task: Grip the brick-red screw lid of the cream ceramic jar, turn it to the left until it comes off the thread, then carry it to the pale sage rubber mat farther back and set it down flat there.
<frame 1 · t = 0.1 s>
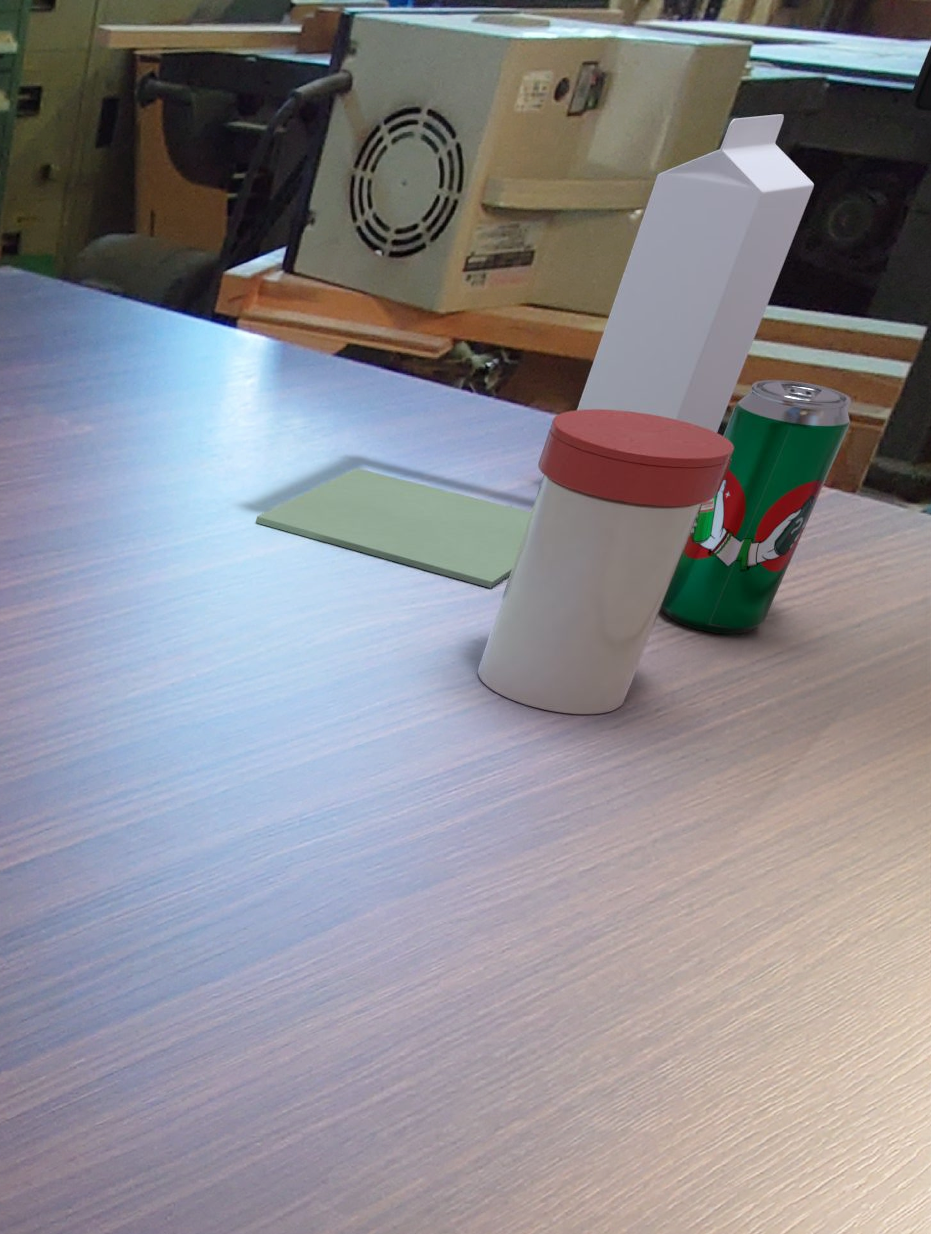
soda can: (705, 622, 90), on the table
jar: (549, 685, 82), on the table
milk: (614, 508, 106), on the table
mat: (417, 526, 101), on the table
lid: (638, 441, 76), point 12 cm above the table, screwed on, not yet turned
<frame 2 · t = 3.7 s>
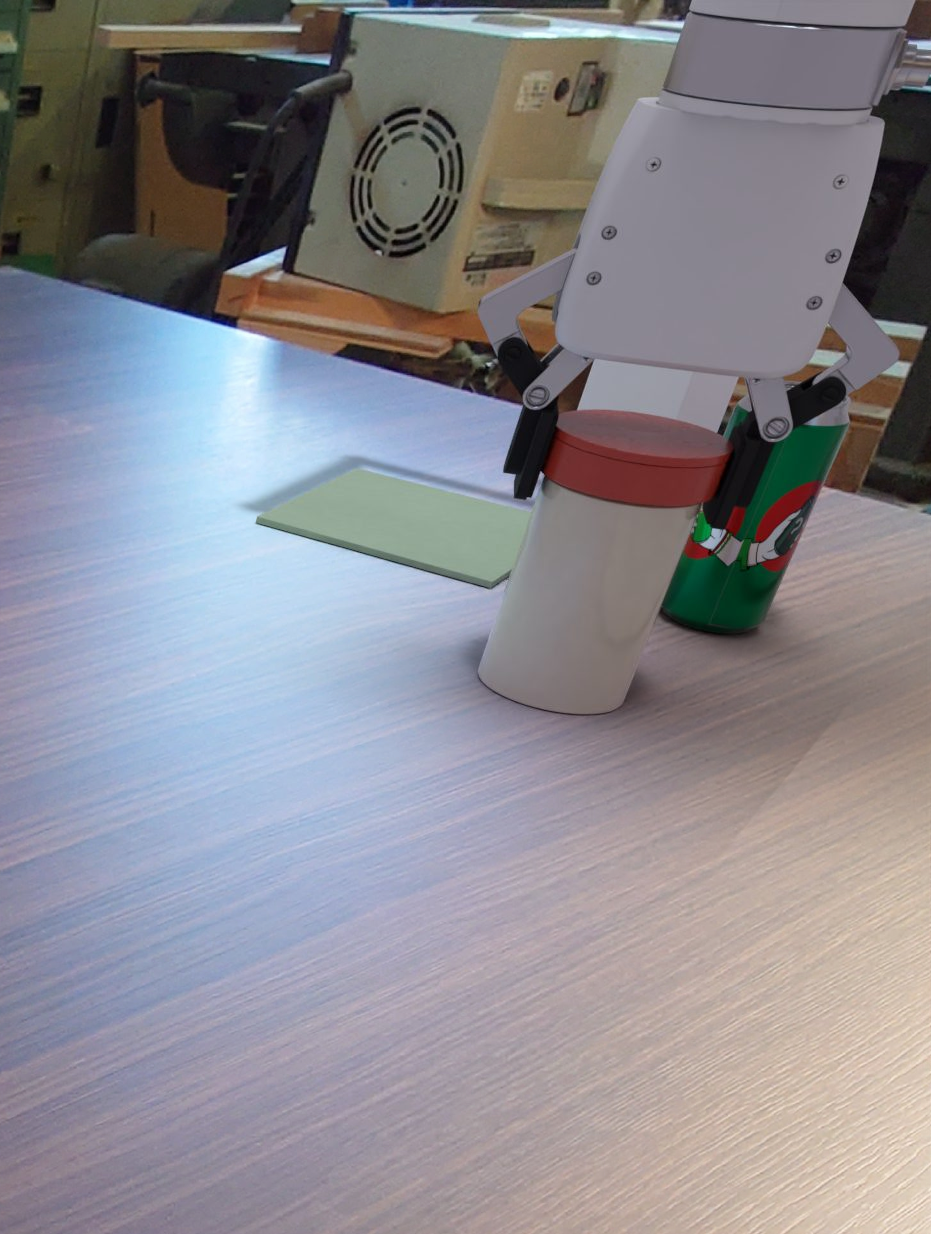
hand: (616, 503, 77), 9 cm above the table, tool pointing down, fingers closed on lid, 7 cm apart
lid: (638, 442, 76), point 12 cm above the table, screwed on, not yet turned, touching gripper
everything else where it was.
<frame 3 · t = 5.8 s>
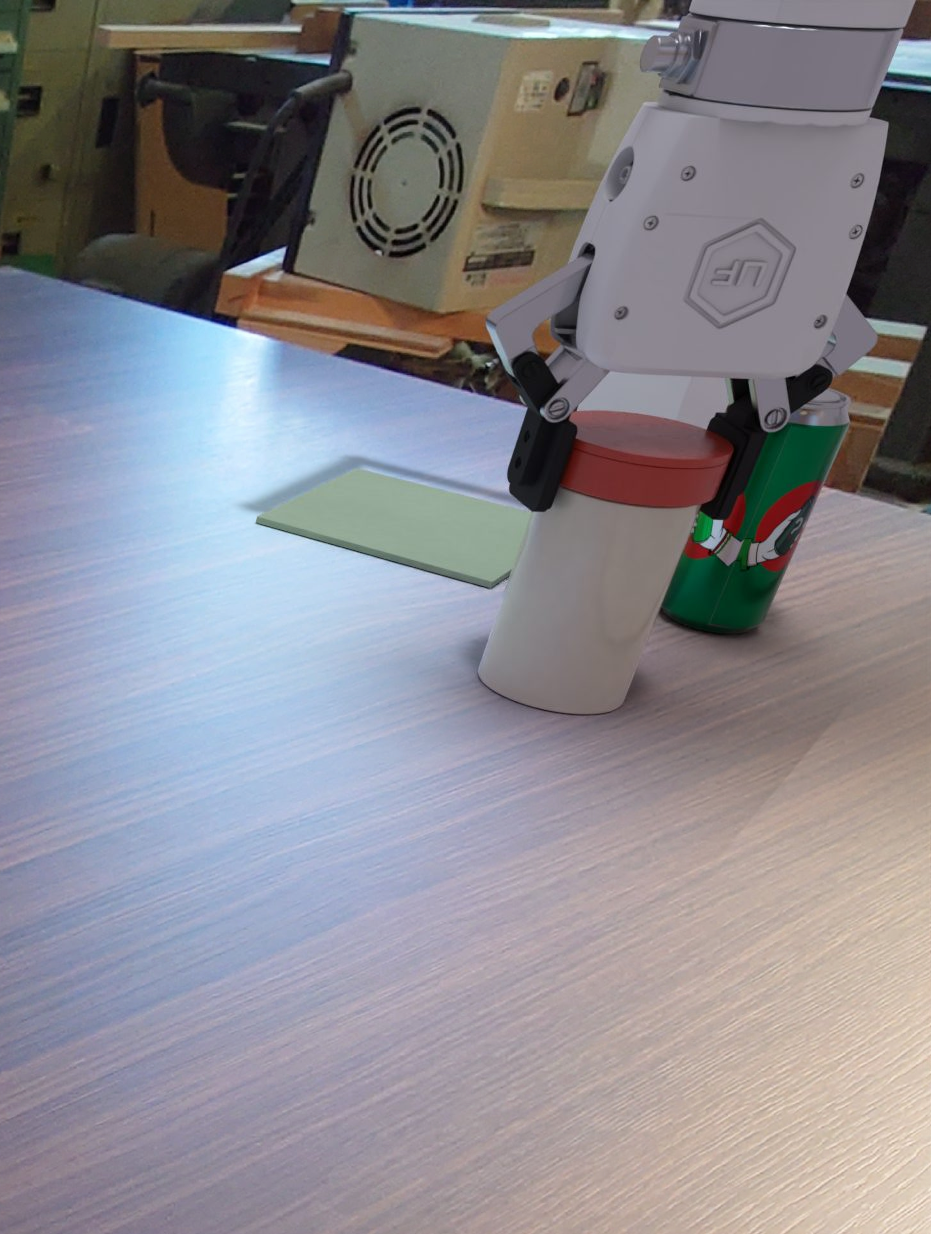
hand: (616, 504, 77), 9 cm above the table, tool pointing down, fingers closed on lid, 7 cm apart
lid: (638, 442, 76), point 12 cm above the table, off its thread, touching gripper
everything else where it was.
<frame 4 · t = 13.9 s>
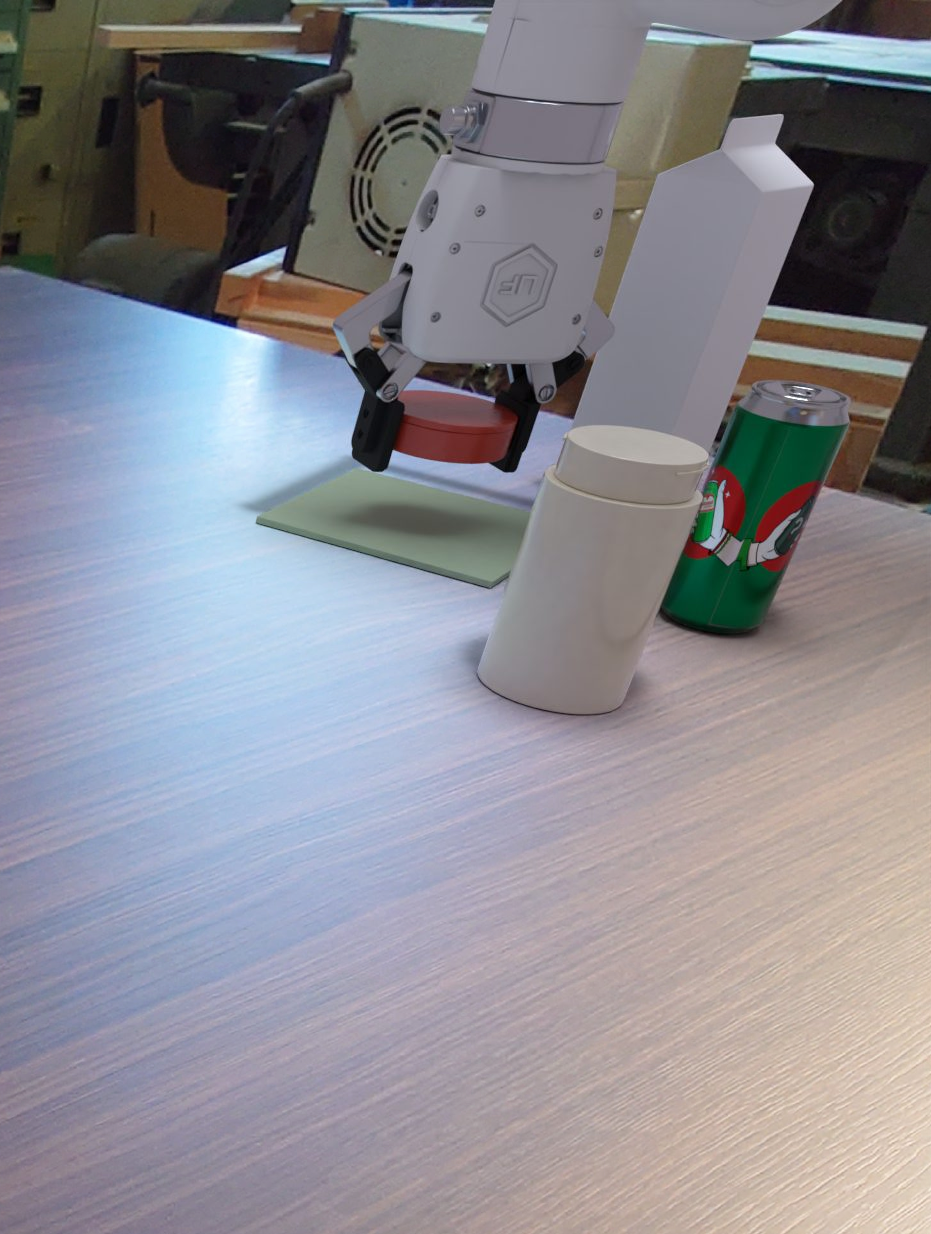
hand: (432, 463, 99), 4 cm above the table, tool pointing down, fingers closed on lid, 7 cm apart
lid: (447, 415, 97), point 7 cm above the table, off its thread, touching gripper
everything else where it was.
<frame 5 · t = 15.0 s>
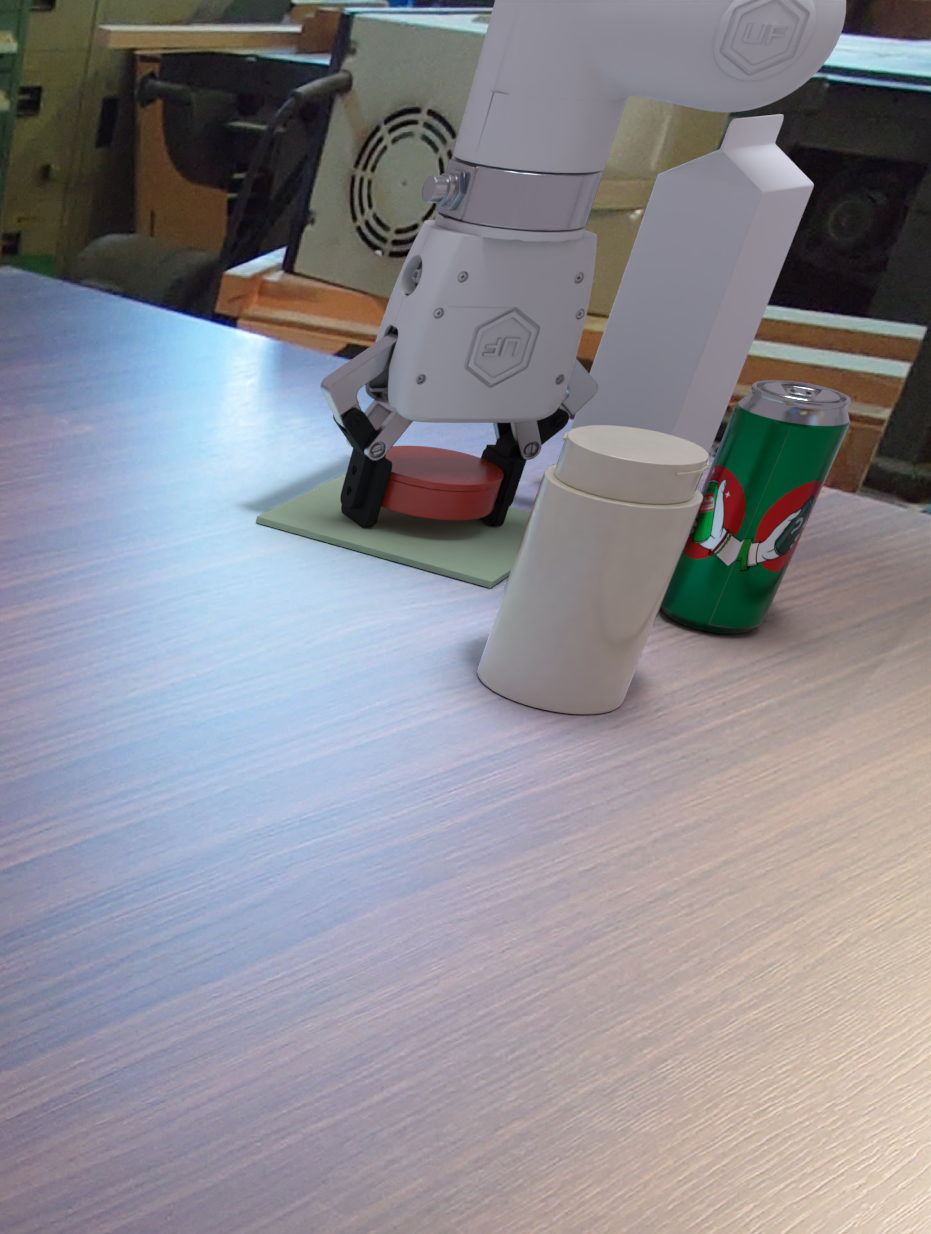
hand: (420, 517, 101), 1 cm above the table, tool pointing down, fingers closed on lid, 7 cm apart
lid: (434, 471, 99), point 3 cm above the table, off its thread, touching gripper
everything else where it was.
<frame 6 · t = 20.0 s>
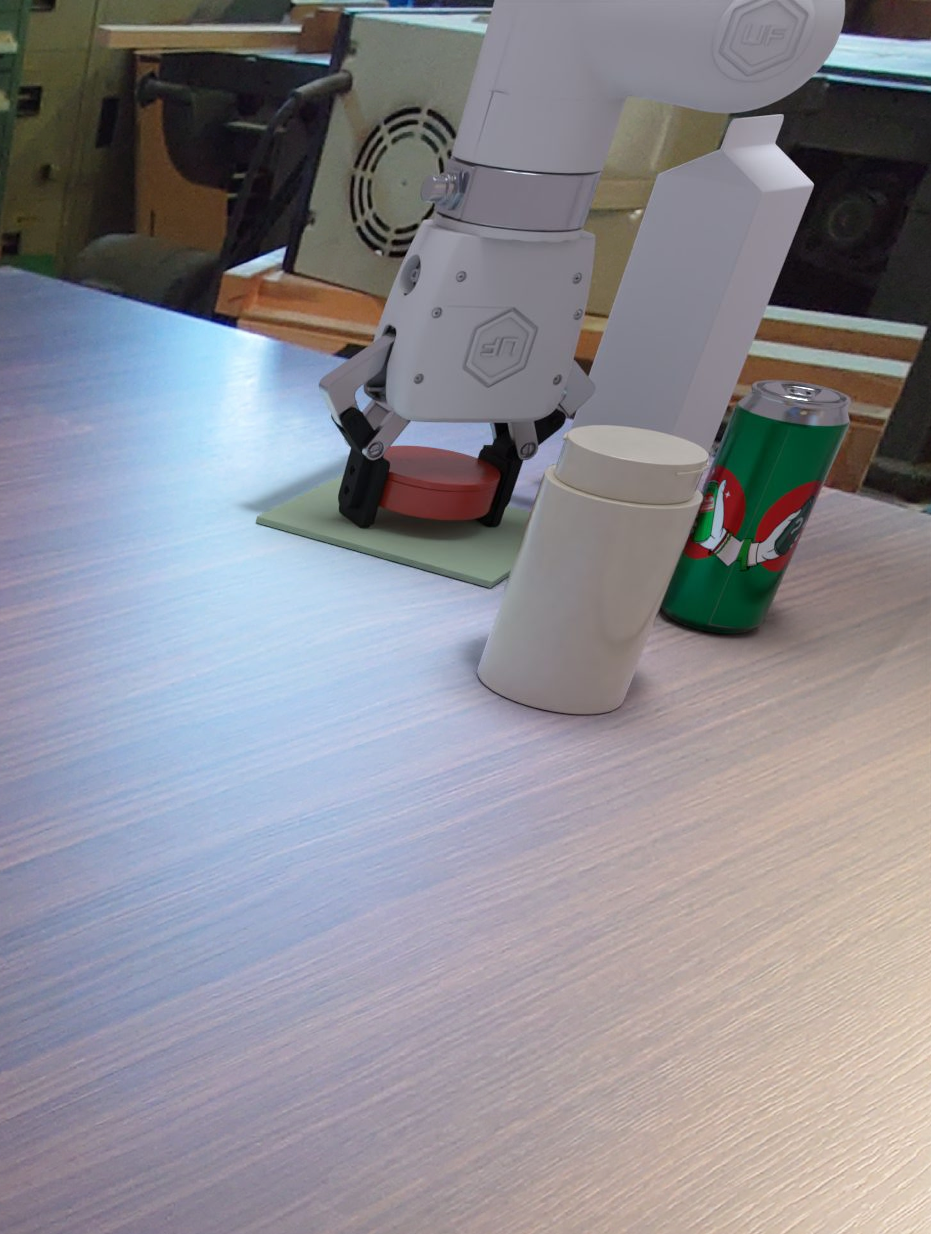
hand: (418, 517, 101), 1 cm above the table, tool pointing down, fingers closed on lid, 7 cm apart
lid: (431, 471, 99), point 3 cm above the table, off its thread, touching gripper
everything else where it was.
when the fingers open (1 cm above the table, at t = 24.5 s): lid drops 2 cm, resting on mat.
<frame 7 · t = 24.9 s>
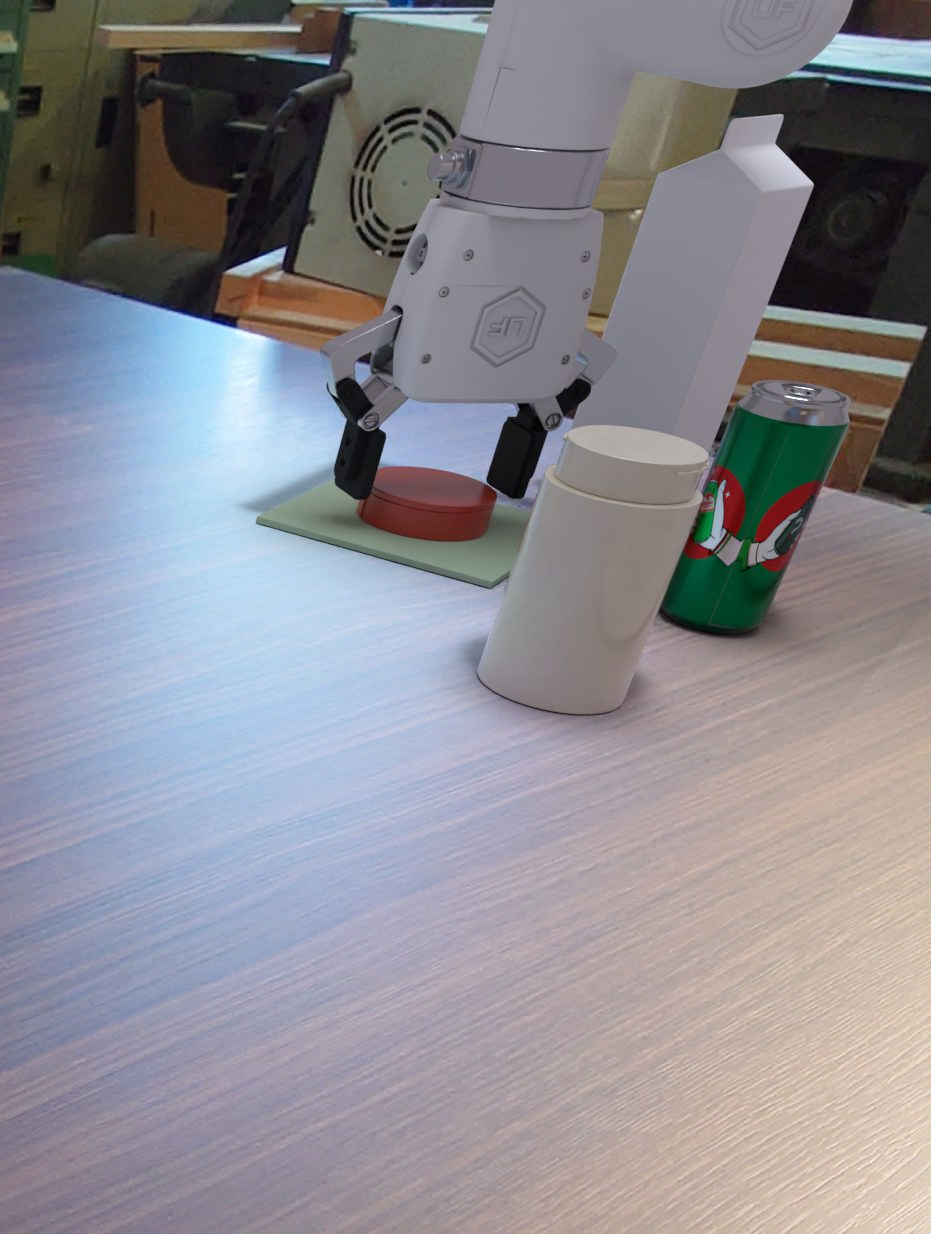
hand: (427, 492, 100), 2 cm above the table, tool pointing down, fingers open, 9 cm apart
lid: (428, 492, 100), point 2 cm above the table, off its thread, touching mat
everything else where it was.
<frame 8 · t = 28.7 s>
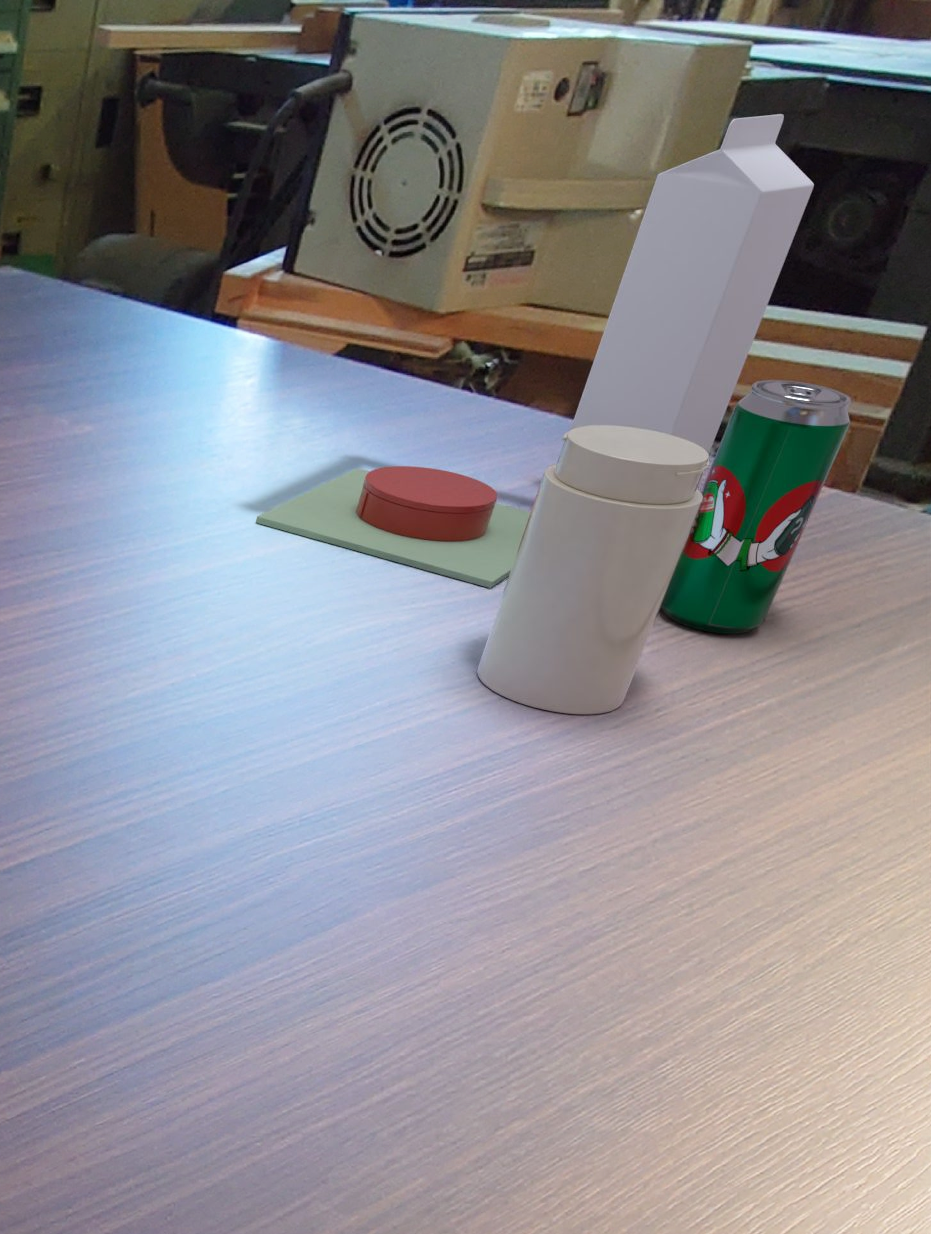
nothing on the table moved.
at the end: lid inside the target area on the mat (0.1 cm from its centre), point 2.1 cm above the mat's base; lid tilted 0°; lid touching mat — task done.
